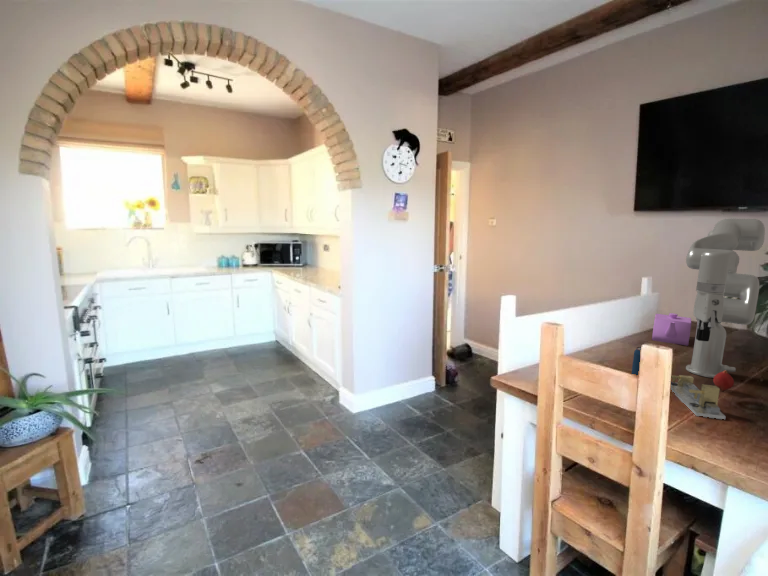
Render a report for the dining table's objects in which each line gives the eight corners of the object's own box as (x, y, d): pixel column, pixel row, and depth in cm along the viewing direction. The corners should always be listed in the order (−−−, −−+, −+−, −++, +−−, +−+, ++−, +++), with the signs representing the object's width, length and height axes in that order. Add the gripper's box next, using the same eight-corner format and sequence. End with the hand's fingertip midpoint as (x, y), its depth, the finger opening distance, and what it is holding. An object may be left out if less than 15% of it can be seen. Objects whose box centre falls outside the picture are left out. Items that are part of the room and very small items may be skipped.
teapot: (650, 343, 205) (654, 316, 202) (653, 332, 225) (656, 307, 222) (688, 349, 196) (692, 321, 194) (687, 337, 216) (691, 311, 214)
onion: (707, 387, 153) (711, 366, 151) (723, 387, 152) (727, 367, 151) (719, 393, 147) (723, 372, 145) (736, 394, 147) (739, 373, 145)
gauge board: (690, 387, 152) (691, 375, 152) (724, 419, 128) (727, 406, 127) (664, 384, 155) (666, 372, 154) (694, 415, 130) (696, 402, 129)
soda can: (650, 383, 156) (654, 353, 154) (629, 378, 160) (633, 349, 158) (653, 377, 161) (657, 348, 159) (632, 373, 165) (636, 345, 163)
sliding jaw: (713, 405, 135) (716, 385, 133) (716, 408, 132) (720, 388, 131) (685, 401, 137) (688, 382, 136) (688, 405, 134) (691, 385, 133)
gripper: (735, 292, 129) (726, 348, 132) (713, 284, 143) (705, 335, 146) (707, 291, 131) (699, 345, 134) (688, 283, 145) (680, 333, 148)
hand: (702, 340), depth 140 cm, fingers closed
